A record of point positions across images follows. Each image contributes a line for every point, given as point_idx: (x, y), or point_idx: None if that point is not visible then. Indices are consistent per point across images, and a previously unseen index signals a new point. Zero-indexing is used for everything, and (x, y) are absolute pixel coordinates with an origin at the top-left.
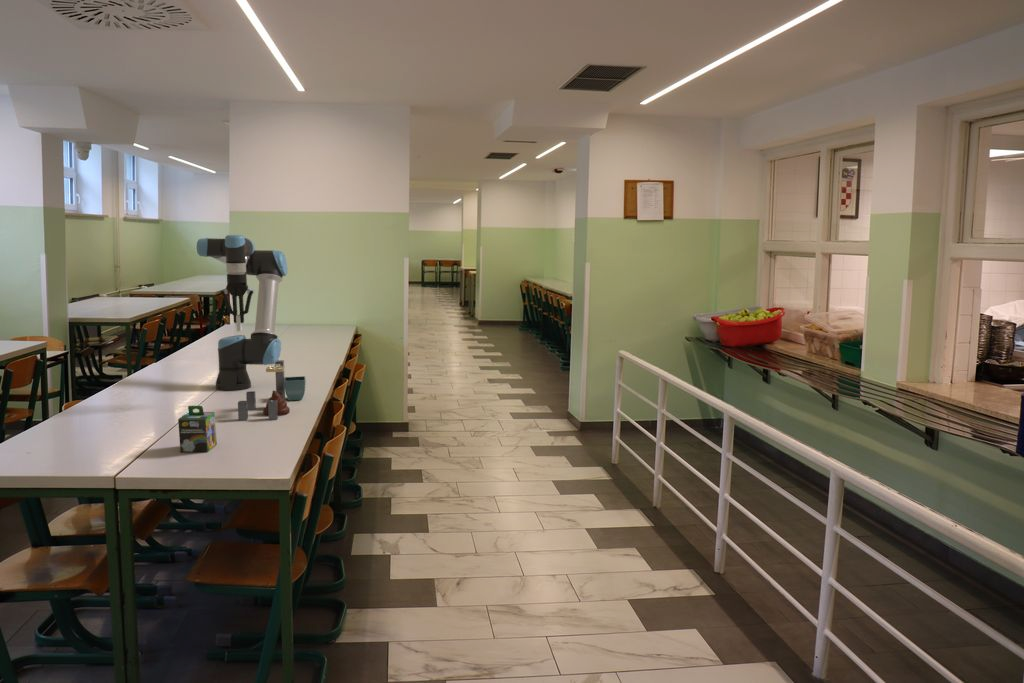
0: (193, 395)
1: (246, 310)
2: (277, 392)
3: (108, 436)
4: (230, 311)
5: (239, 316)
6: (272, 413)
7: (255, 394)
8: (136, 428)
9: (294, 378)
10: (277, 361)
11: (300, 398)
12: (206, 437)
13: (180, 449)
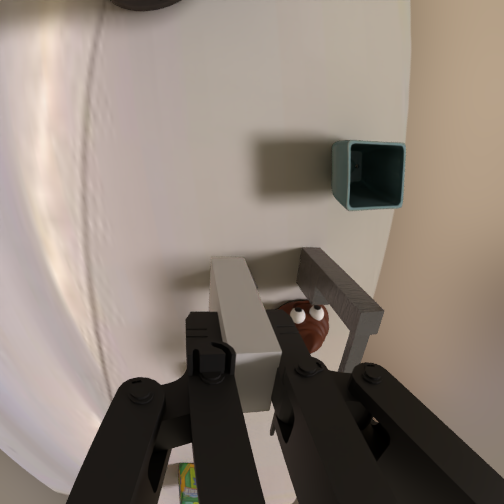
0: (45, 75)
1: (365, 440)
2: (319, 346)
3: (44, 419)
4: (158, 455)
5: (262, 403)
6: None
7: (255, 282)
8: (53, 391)
9: (375, 144)
10: (361, 333)
11: (360, 185)
12: None
13: (178, 480)
